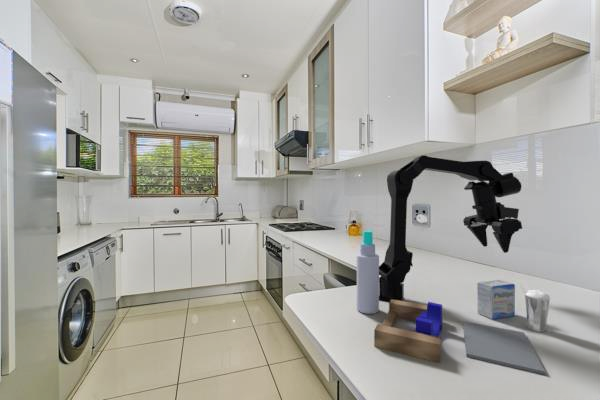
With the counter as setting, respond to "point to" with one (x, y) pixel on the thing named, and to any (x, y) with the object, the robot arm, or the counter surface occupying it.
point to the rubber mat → (500, 347)
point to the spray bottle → (367, 276)
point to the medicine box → (496, 299)
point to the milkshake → (537, 309)
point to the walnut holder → (406, 333)
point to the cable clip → (430, 320)
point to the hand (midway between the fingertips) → (495, 249)
